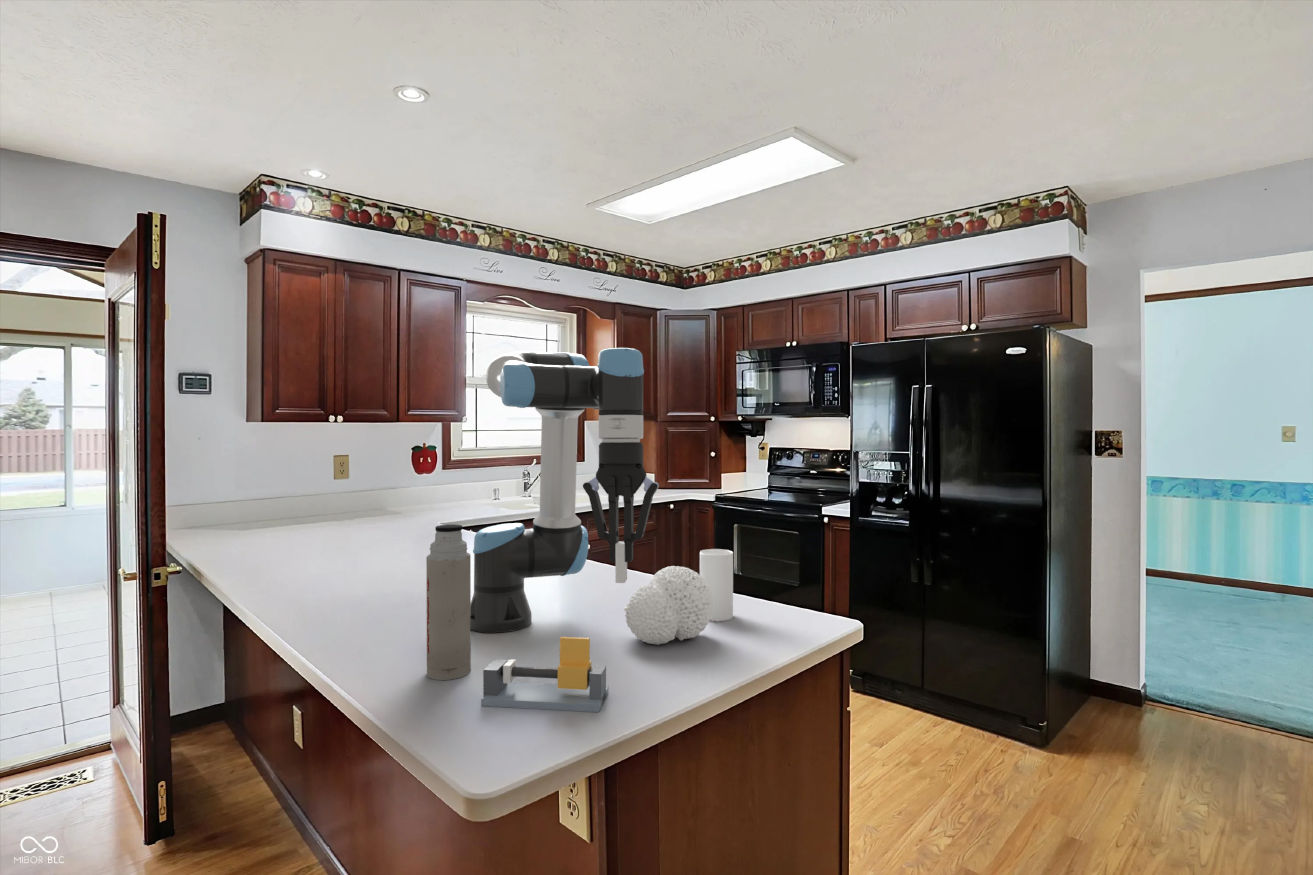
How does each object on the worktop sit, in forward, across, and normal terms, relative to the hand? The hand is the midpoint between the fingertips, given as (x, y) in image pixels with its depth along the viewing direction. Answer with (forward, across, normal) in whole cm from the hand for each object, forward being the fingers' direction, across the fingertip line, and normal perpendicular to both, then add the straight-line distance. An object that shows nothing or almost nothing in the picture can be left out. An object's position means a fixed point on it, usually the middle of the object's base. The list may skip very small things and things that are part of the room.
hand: (621, 581), depth 112 cm
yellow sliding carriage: (+18, -8, 0) cm, 20 cm away
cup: (+21, +14, +55) cm, 60 cm away
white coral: (+21, +5, +35) cm, 41 cm away
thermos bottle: (+21, -35, +10) cm, 42 cm away
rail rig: (+21, -13, 0) cm, 24 cm away
